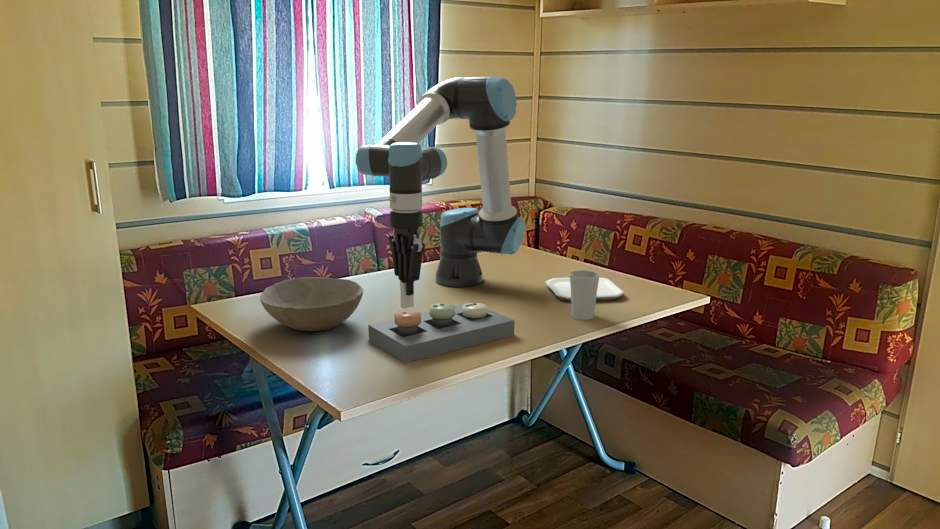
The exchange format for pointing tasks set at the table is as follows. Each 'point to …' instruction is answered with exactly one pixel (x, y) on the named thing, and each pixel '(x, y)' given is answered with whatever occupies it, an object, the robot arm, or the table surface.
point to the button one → (407, 322)
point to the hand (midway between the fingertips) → (407, 306)
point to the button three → (474, 311)
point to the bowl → (312, 302)
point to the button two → (442, 314)
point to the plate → (604, 289)
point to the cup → (583, 293)
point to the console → (440, 335)
